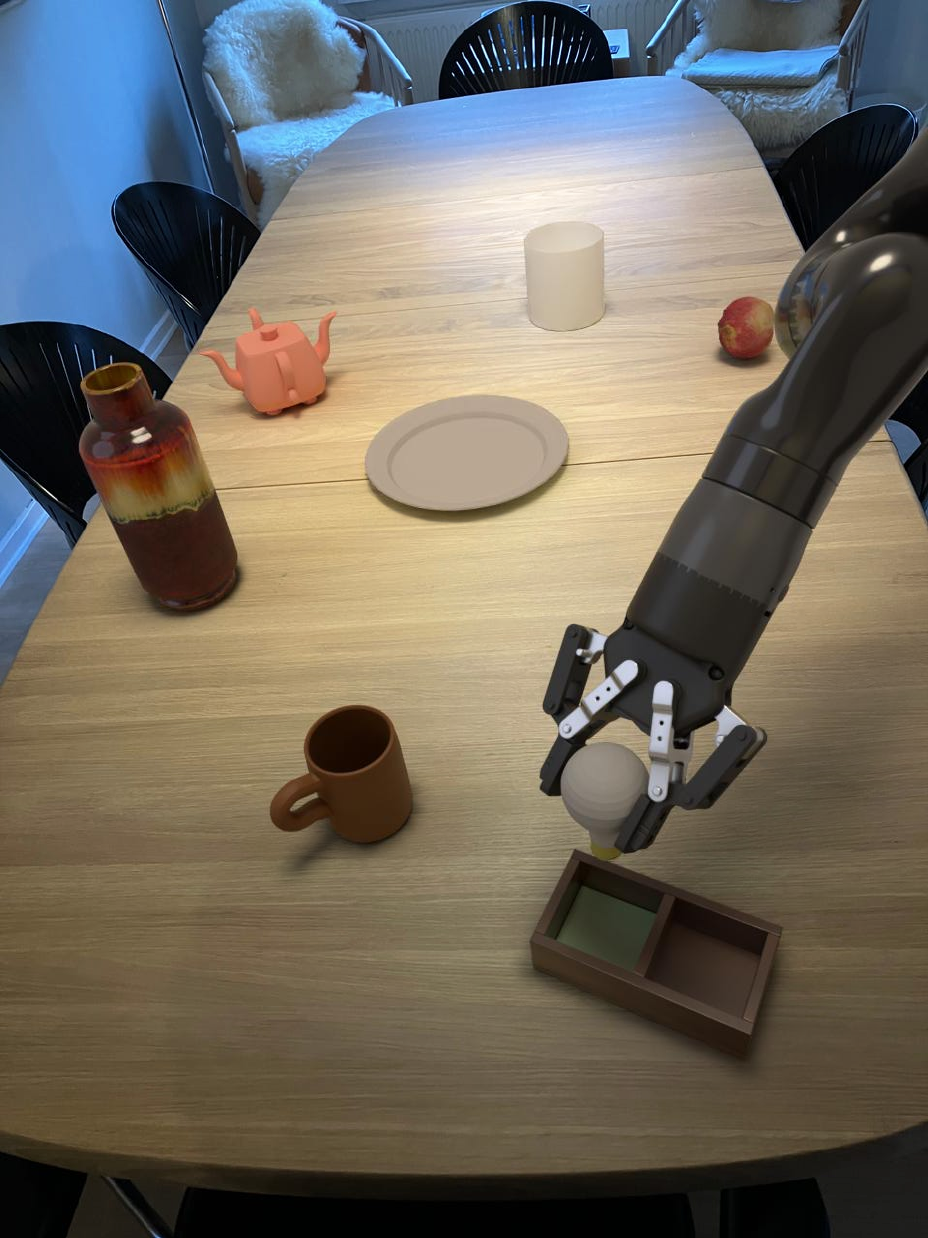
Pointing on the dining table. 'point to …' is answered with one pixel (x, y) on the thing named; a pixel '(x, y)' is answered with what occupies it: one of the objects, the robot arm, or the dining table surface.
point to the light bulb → (603, 792)
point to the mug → (349, 777)
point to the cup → (565, 275)
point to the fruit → (746, 327)
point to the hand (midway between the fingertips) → (587, 820)
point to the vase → (156, 490)
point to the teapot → (277, 364)
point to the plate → (466, 452)
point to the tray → (657, 951)
